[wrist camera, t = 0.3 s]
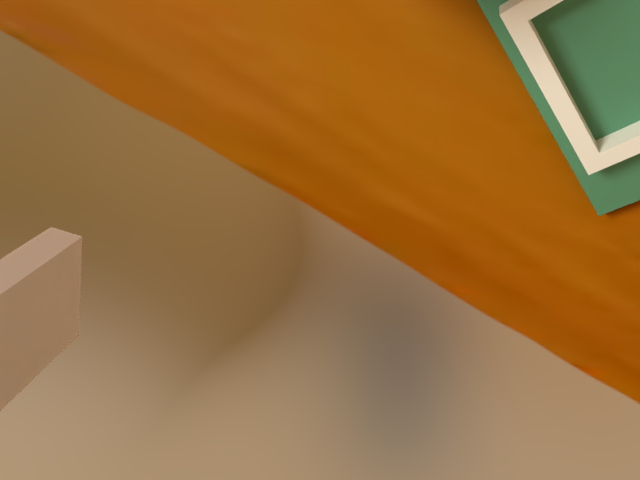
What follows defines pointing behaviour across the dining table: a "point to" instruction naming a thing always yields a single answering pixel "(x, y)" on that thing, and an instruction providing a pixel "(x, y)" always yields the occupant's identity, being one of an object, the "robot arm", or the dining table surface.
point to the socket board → (582, 84)
